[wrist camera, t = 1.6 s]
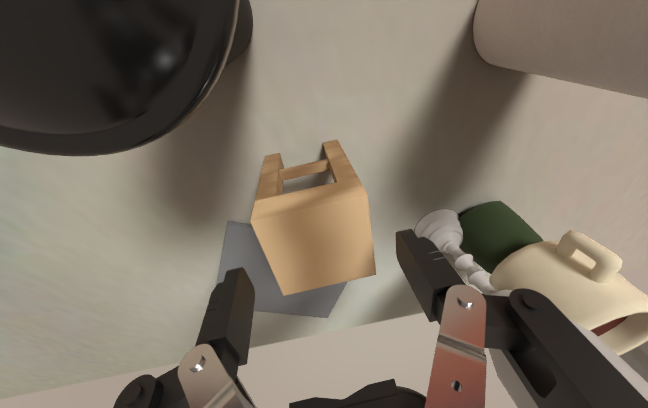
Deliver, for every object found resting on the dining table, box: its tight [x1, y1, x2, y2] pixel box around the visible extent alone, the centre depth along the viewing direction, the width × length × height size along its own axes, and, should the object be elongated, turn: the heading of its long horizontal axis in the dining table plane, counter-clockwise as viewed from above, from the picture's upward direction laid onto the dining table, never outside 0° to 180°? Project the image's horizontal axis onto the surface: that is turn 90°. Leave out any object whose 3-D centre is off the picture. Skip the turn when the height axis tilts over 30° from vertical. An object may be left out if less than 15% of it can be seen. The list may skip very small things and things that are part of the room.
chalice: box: [414, 209, 648, 408], centre depth 19 cm, size 7×7×18 cm
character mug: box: [458, 201, 648, 356], centre depth 21 cm, size 11×7×13 cm, turn 6°
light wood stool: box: [250, 140, 376, 296], centre depth 18 cm, size 6×6×9 cm
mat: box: [216, 221, 348, 318], centre depth 27 cm, size 14×12×1 cm
